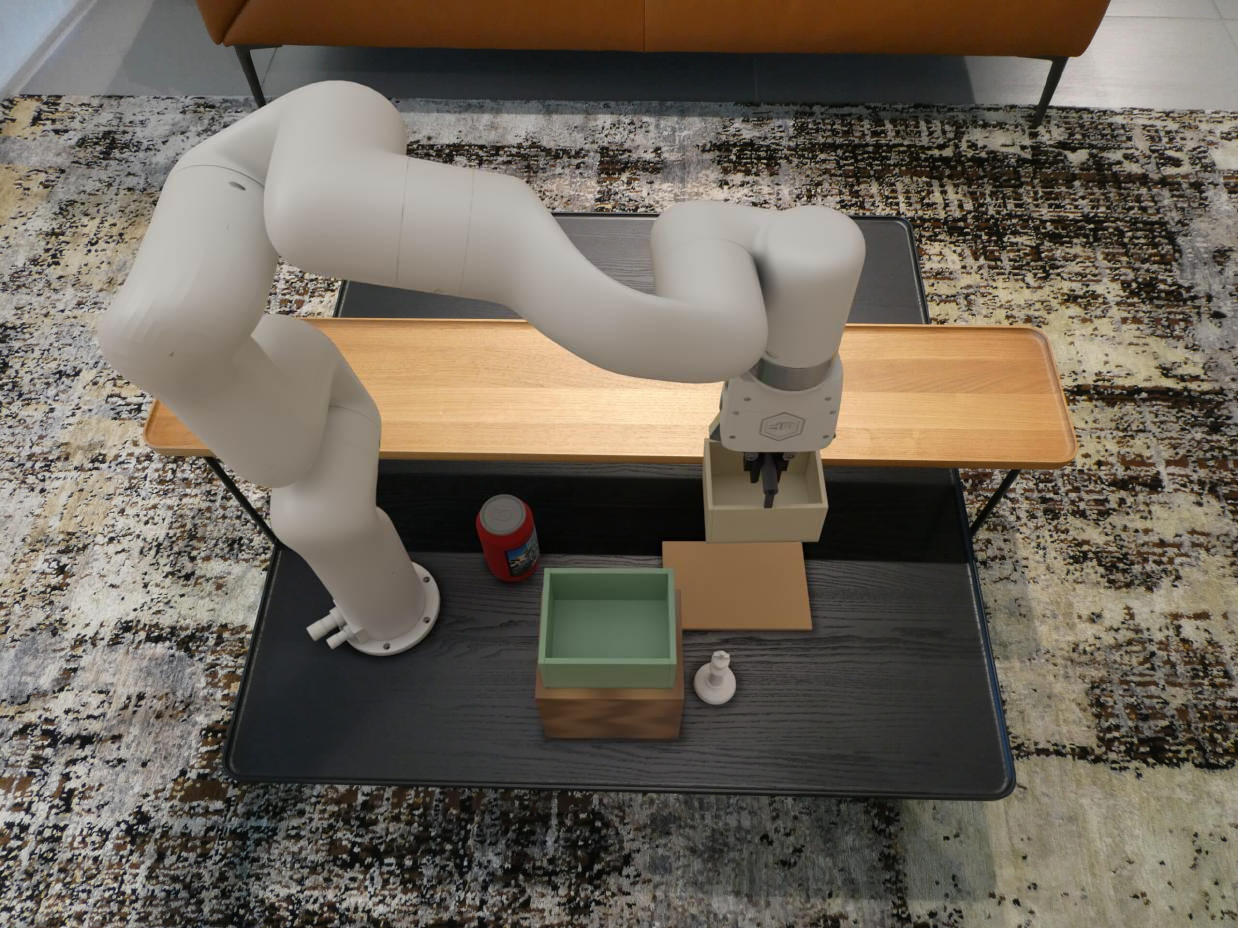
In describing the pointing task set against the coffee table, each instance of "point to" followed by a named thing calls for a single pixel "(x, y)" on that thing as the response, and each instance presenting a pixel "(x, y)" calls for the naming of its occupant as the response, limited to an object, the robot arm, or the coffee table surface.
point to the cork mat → (740, 585)
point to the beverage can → (508, 537)
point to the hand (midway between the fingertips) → (763, 470)
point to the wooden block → (614, 705)
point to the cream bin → (762, 498)
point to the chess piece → (715, 680)
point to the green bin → (608, 628)
